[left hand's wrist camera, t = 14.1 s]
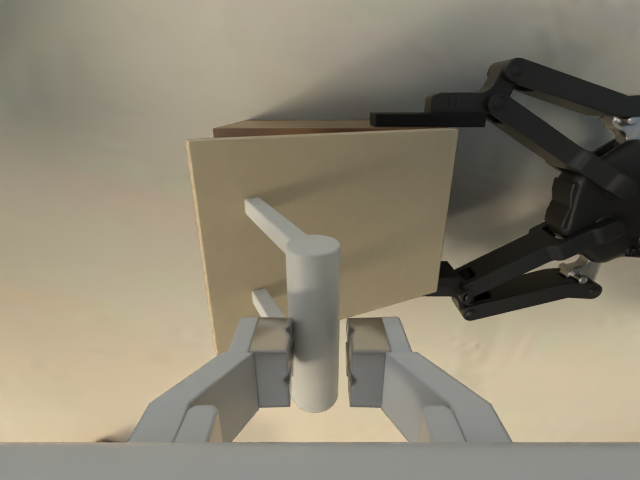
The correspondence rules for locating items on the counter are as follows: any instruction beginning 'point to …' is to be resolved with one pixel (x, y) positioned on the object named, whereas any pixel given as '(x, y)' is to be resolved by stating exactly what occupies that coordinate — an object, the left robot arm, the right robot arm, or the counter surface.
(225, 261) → the lid
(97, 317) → the counter surface
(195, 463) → the left robot arm
